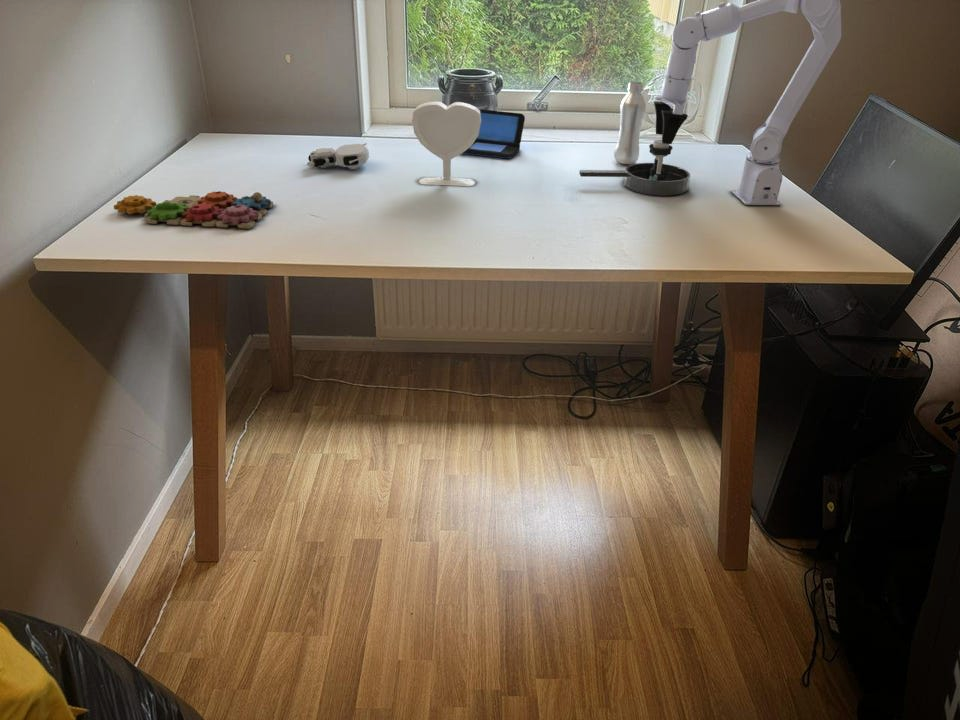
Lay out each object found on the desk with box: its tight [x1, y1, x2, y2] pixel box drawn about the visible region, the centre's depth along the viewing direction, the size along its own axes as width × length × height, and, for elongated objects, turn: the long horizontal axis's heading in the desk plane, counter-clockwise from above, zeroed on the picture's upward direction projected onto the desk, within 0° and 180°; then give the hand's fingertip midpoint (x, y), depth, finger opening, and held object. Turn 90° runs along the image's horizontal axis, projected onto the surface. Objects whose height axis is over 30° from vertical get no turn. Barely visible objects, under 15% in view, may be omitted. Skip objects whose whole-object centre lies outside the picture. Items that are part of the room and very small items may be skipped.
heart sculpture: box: [411, 100, 481, 187], centre depth 160 cm, size 16×5×18 cm, turn 88°
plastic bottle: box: [613, 81, 647, 165], centre depth 176 cm, size 6×7×20 cm
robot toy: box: [306, 143, 370, 170], centre depth 173 cm, size 12×4×15 cm
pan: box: [623, 162, 691, 197], centre depth 165 cm, size 15×15×4 cm
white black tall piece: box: [648, 139, 674, 181], centre depth 163 cm, size 7×5×10 cm
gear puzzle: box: [113, 190, 274, 230], centre depth 142 cm, size 31×16×4 cm, turn 85°
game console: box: [462, 108, 526, 160], centre depth 187 cm, size 16×13×9 cm
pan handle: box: [579, 169, 627, 178], centre depth 163 cm, size 2×11×1 cm, turn 93°
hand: (663, 138), depth 161 cm, fingers open, 7 cm apart
